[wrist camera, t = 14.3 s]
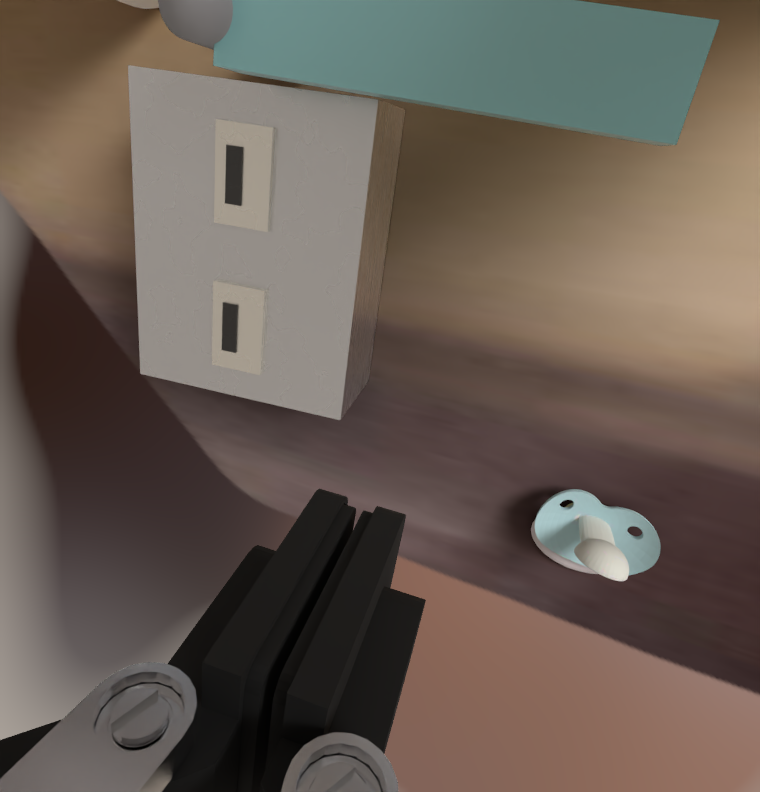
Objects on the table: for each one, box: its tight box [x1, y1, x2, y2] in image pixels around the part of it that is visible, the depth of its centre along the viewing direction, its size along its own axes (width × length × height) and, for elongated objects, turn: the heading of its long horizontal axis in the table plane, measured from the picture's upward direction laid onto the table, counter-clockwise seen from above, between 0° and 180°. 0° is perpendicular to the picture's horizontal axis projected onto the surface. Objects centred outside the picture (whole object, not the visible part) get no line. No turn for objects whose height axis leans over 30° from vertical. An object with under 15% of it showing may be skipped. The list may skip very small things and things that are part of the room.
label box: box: [128, 65, 405, 420], centre depth 31 cm, size 16×12×6 cm
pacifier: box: [531, 489, 661, 581], centre depth 34 cm, size 7×6×6 cm
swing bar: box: [158, 0, 720, 146], centre depth 24 cm, size 19×4×11 cm, turn 80°
